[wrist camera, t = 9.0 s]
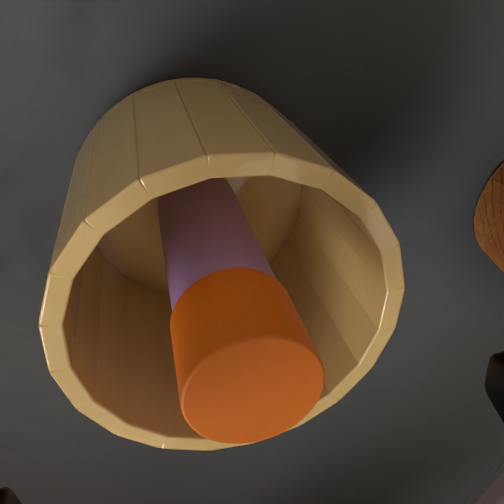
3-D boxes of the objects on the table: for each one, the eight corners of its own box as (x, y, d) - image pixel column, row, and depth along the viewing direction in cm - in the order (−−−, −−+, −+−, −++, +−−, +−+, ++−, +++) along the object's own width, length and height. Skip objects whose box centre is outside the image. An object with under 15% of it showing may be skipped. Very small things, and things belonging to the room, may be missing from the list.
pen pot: (345, 212, 20) (450, 331, 13) (175, 330, 21) (199, 491, 14) (223, 19, 15) (297, 59, 9) (14, 182, 16) (-56, 324, 10)
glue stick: (253, 211, 18) (350, 391, 10) (189, 257, 18) (236, 464, 11) (206, 149, 16) (278, 309, 9) (136, 201, 17) (147, 398, 9)
